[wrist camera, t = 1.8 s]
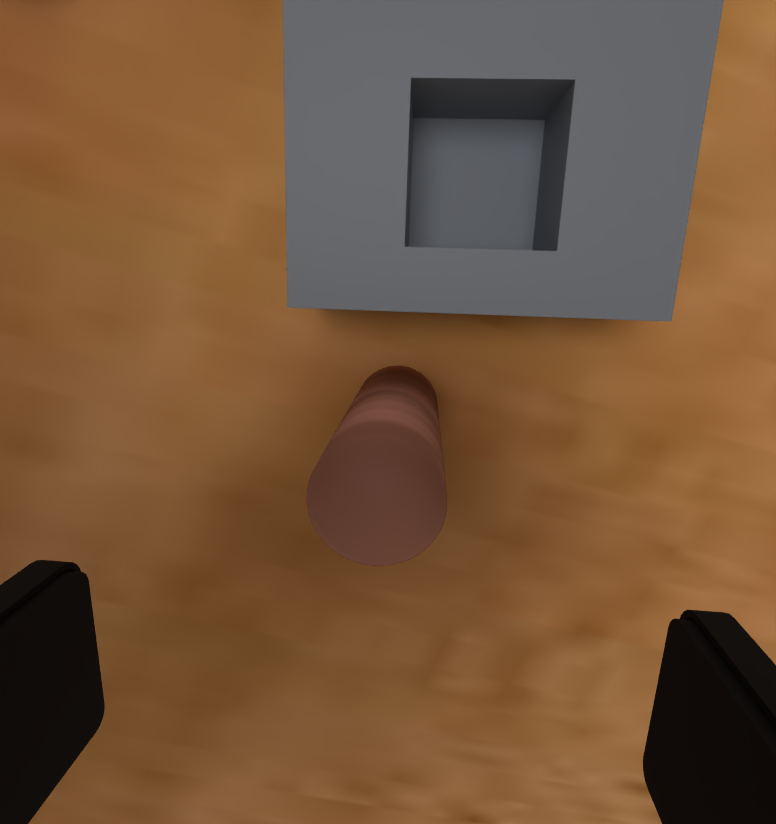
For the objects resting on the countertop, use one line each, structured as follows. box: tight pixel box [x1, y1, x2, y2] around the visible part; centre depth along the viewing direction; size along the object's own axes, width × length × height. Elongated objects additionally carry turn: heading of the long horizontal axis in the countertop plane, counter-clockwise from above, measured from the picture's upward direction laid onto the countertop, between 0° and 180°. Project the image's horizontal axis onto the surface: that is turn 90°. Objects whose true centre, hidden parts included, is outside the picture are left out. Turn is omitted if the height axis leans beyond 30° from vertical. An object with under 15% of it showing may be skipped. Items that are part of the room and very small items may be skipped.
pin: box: [307, 366, 447, 566], centre depth 21 cm, size 4×4×12 cm
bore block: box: [283, 0, 724, 321], centre depth 20 cm, size 20×14×6 cm
